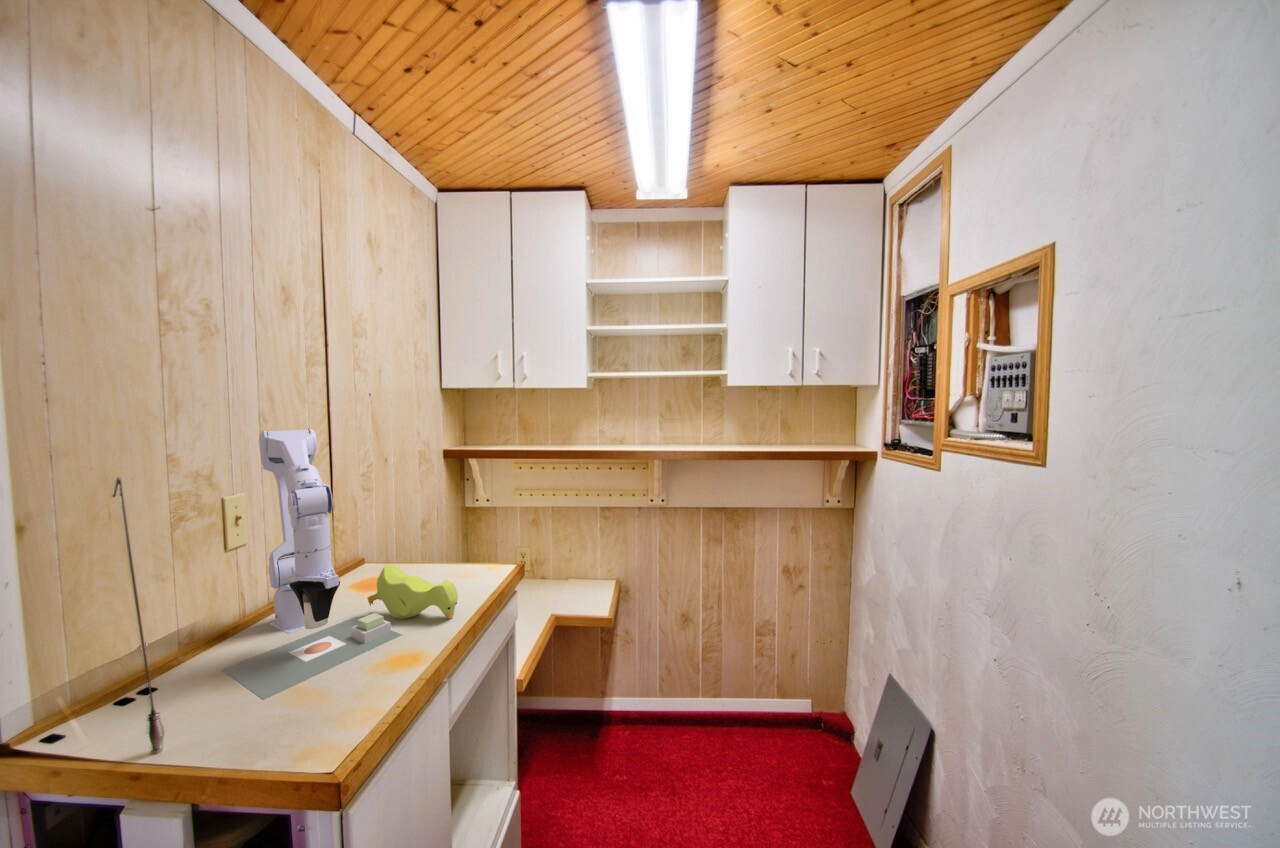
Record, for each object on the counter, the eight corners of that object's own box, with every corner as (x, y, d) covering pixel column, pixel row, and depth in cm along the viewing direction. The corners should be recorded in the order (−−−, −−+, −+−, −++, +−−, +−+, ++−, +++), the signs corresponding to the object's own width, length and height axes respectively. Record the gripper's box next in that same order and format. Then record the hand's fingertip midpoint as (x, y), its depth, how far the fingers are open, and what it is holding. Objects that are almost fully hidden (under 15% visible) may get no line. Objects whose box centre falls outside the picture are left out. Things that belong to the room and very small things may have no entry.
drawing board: (221, 672, 79) (220, 658, 79) (356, 618, 99) (355, 607, 99) (263, 702, 70) (262, 687, 70) (402, 637, 90) (401, 625, 90)
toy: (379, 647, 98) (452, 621, 94) (354, 578, 99) (426, 549, 95) (399, 633, 104) (469, 608, 100) (376, 568, 105) (444, 541, 101)
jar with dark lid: (300, 626, 85) (299, 593, 84) (322, 618, 88) (321, 586, 88) (309, 631, 83) (308, 596, 83) (332, 622, 86) (330, 589, 86)
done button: (358, 631, 90) (357, 619, 90) (375, 624, 93) (374, 613, 93) (367, 635, 88) (366, 623, 88) (384, 628, 91) (383, 616, 91)
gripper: (271, 549, 85) (275, 618, 86) (306, 560, 78) (310, 634, 78) (313, 540, 91) (316, 604, 92) (349, 548, 84) (352, 618, 84)
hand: (316, 617), depth 85 cm, fingers closed on jar with dark lid, 4 cm apart
